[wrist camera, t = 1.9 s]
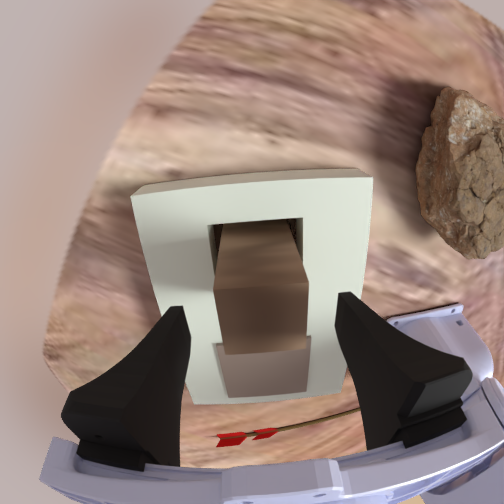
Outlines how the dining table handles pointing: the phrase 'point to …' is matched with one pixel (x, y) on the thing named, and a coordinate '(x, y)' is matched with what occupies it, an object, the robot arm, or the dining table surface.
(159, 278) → the board
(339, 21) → the dining table surface
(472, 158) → the rock
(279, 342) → the block
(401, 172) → the dining table surface
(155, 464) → the robot arm
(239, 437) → the arrow
